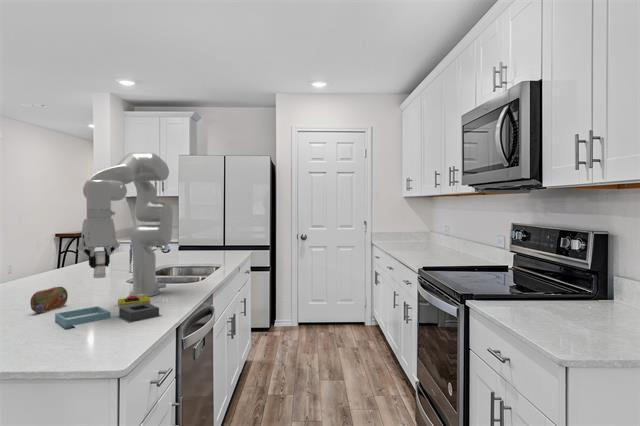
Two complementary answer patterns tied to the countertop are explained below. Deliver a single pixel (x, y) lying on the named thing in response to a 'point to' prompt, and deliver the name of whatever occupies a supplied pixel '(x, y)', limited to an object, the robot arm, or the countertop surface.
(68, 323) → the parts tray
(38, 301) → the tin
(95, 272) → the fuse
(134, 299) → the emergency button
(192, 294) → the countertop surface
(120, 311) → the fuse panel
